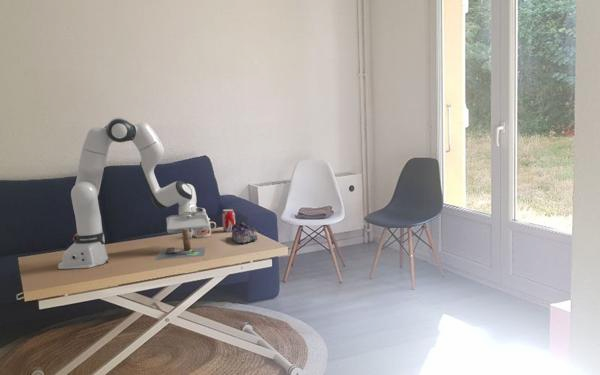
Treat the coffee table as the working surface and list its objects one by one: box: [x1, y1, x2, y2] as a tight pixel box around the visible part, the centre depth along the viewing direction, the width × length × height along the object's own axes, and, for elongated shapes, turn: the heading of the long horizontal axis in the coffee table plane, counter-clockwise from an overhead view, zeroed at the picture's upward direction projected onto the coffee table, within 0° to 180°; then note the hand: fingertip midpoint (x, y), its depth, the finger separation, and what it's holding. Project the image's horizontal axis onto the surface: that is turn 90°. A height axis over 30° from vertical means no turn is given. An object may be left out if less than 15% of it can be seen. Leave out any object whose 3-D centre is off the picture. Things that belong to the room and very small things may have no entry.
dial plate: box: [155, 246, 206, 261], centre depth 273 cm, size 22×17×2 cm
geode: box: [231, 220, 258, 245], centre depth 300 cm, size 20×12×10 cm, turn 28°
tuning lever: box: [165, 229, 196, 254], centre depth 272 cm, size 15×4×11 cm, turn 72°
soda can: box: [221, 208, 236, 233], centre depth 324 cm, size 7×7×12 cm
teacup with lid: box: [194, 217, 217, 239], centre depth 315 cm, size 12×9×12 cm
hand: (188, 238), depth 273 cm, fingers closed
